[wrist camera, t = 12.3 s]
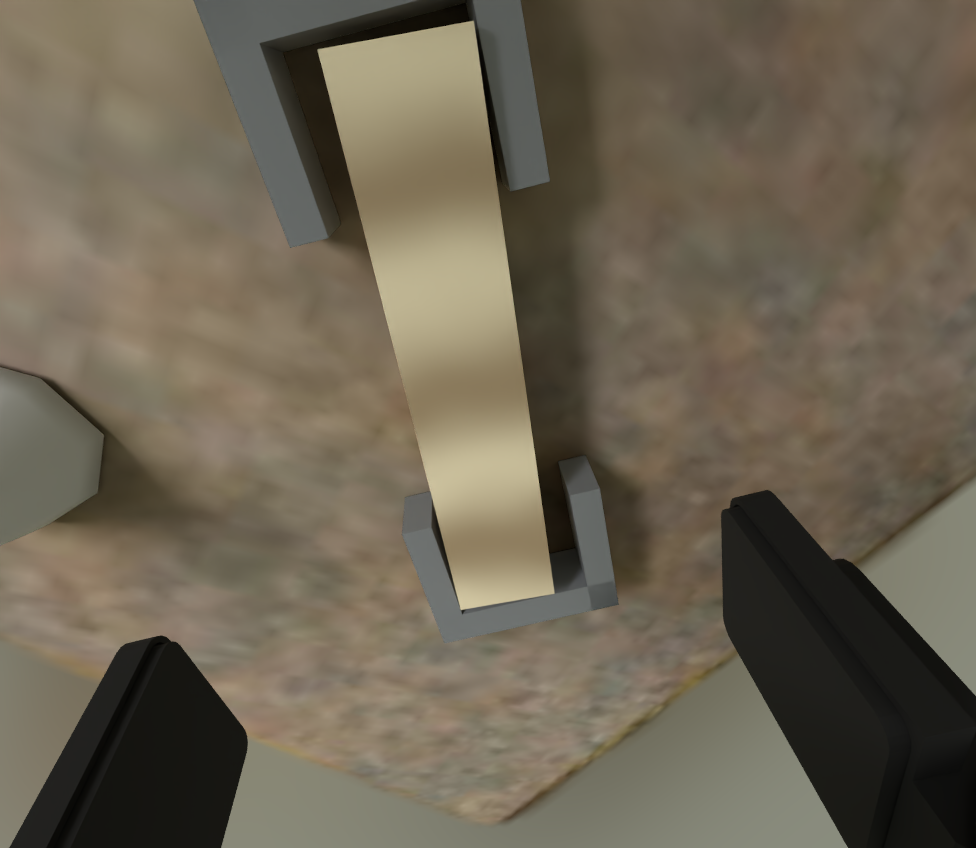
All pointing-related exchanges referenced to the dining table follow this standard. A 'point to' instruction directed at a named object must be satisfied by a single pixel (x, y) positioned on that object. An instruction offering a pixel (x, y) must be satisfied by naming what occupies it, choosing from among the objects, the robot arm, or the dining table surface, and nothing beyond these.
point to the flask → (42, 455)
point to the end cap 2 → (575, 572)
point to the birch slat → (446, 294)
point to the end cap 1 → (338, 12)
